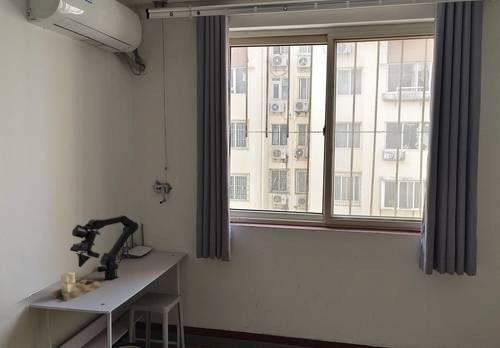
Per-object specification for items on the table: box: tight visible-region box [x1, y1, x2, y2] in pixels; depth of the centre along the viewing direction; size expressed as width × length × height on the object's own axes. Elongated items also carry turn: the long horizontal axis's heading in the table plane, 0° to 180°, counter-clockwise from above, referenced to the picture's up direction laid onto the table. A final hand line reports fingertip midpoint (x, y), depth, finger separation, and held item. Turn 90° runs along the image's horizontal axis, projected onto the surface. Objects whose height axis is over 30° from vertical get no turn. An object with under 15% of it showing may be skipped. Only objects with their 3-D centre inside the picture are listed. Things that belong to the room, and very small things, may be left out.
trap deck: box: [51, 279, 101, 302], centre depth 236 cm, size 22×12×3 cm, turn 151°
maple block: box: [60, 271, 77, 292], centre depth 232 cm, size 5×5×9 cm
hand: (79, 266), depth 243 cm, fingers closed
